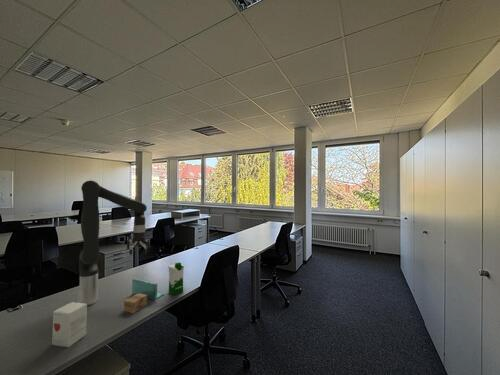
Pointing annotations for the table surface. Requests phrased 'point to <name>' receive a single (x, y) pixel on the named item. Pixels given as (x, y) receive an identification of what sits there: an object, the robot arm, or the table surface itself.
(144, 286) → the bookend
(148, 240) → the robot arm
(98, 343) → the table surface
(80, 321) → the supplement box
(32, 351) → the table surface
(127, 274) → the table surface
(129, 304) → the block
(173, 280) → the milk carton
